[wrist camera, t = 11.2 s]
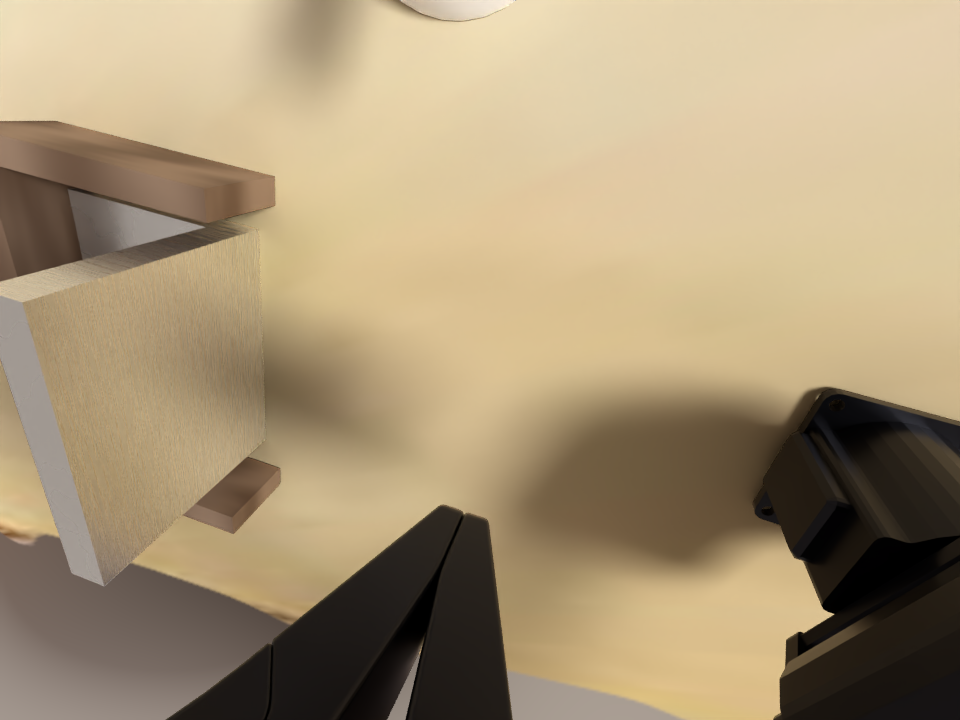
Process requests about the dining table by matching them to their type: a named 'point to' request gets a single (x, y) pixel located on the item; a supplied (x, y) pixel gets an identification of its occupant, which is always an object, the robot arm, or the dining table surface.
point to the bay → (137, 179)
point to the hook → (457, 8)
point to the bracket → (136, 373)
